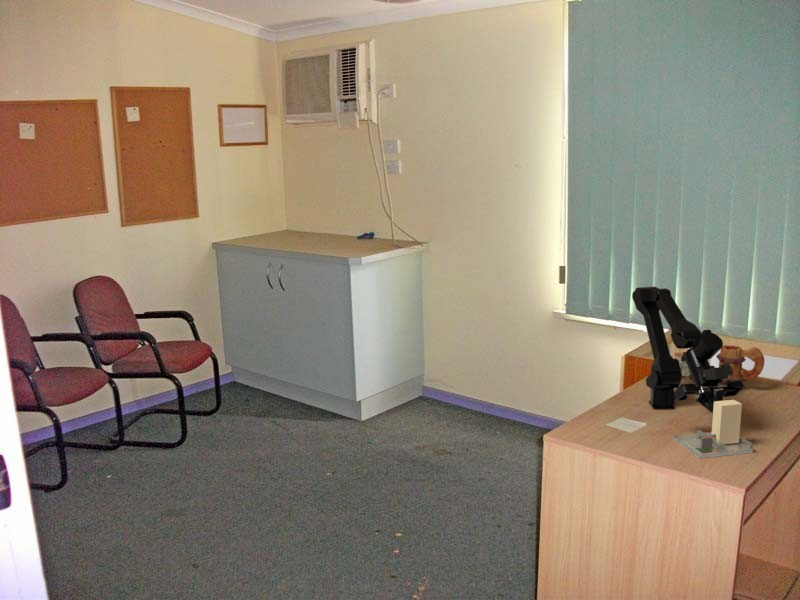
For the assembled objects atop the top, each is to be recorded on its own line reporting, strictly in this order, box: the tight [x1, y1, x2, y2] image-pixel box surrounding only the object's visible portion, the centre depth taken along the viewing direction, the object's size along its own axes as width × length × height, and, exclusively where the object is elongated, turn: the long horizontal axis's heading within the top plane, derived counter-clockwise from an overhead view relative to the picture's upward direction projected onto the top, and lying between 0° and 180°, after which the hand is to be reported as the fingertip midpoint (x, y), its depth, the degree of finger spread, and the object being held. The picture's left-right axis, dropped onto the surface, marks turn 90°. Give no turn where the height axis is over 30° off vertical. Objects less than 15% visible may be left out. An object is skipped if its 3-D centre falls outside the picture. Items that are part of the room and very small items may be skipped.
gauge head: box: [698, 399, 743, 444], centre depth 201 cm, size 4×11×11 cm, turn 101°
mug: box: [716, 344, 765, 385], centre depth 245 cm, size 15×8×15 cm, turn 55°
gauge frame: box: [672, 429, 754, 459], centre depth 202 cm, size 13×16×2 cm
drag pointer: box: [701, 436, 713, 449], centre depth 196 cm, size 1×3×3 cm, turn 102°
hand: (720, 418), depth 203 cm, fingers closed, pressing on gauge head
